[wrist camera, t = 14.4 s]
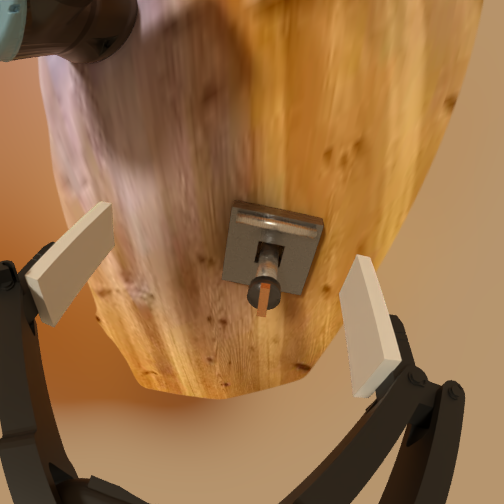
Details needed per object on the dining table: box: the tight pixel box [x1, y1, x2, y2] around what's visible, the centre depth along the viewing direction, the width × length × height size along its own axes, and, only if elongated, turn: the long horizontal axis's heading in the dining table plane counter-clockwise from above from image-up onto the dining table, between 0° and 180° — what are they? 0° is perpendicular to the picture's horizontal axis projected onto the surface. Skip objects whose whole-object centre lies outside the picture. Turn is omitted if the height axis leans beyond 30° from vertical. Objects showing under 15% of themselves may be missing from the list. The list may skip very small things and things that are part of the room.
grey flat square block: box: [222, 200, 324, 295], centre depth 49 cm, size 14×14×4 cm
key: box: [247, 242, 281, 317], centre depth 45 cm, size 5×4×14 cm
